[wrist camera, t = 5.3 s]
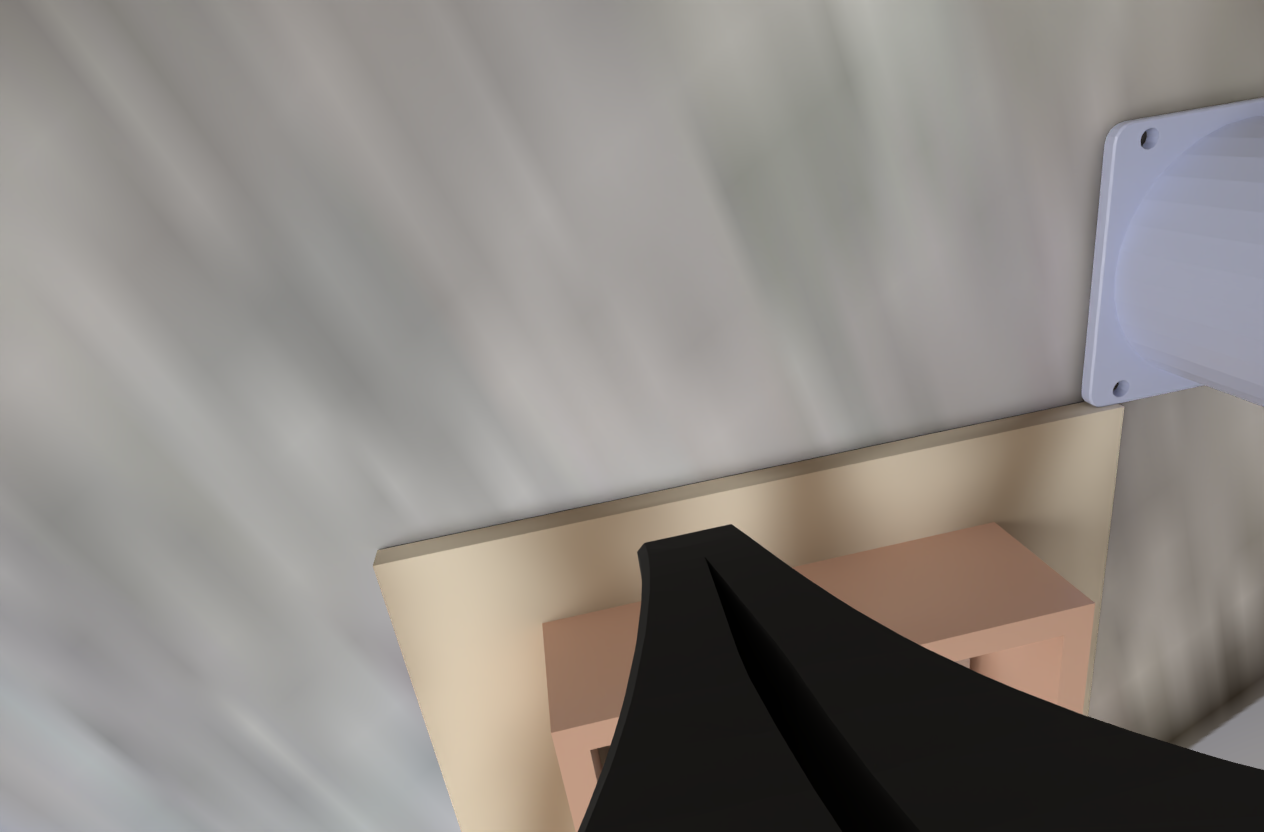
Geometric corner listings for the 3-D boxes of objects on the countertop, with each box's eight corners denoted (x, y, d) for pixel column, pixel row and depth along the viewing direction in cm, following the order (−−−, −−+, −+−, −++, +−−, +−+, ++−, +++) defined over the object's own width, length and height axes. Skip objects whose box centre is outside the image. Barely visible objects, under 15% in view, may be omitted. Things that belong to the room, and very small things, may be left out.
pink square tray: (994, 521, 23) (1095, 603, 19) (978, 839, 28) (1055, 953, 24) (542, 623, 21) (551, 733, 18) (616, 936, 27) (635, 1073, 23)
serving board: (1104, 397, 23) (1124, 406, 22) (1056, 849, 30) (1069, 867, 30) (377, 550, 21) (373, 565, 20) (522, 994, 28) (523, 1017, 27)
